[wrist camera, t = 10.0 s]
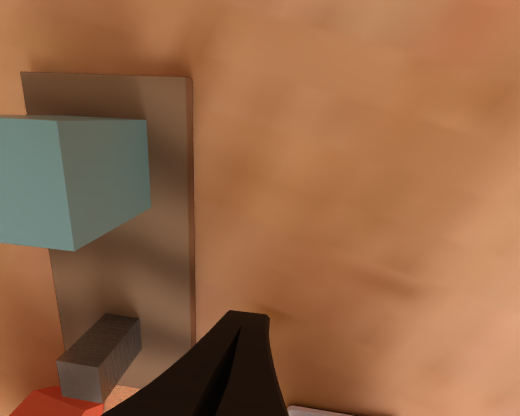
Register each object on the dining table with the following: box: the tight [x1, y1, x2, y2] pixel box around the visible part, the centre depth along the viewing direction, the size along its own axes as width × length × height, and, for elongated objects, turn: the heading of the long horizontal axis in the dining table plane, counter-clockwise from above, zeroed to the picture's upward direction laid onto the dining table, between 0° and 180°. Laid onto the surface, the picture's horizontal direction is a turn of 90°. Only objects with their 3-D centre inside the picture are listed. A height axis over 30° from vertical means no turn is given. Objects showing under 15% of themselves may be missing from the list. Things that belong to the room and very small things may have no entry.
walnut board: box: [20, 72, 196, 389], centre depth 21 cm, size 22×10×1 cm, turn 177°
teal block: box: [0, 115, 151, 251], centre depth 16 cm, size 5×5×7 cm
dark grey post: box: [56, 313, 142, 404], centre depth 20 cm, size 3×3×4 cm
